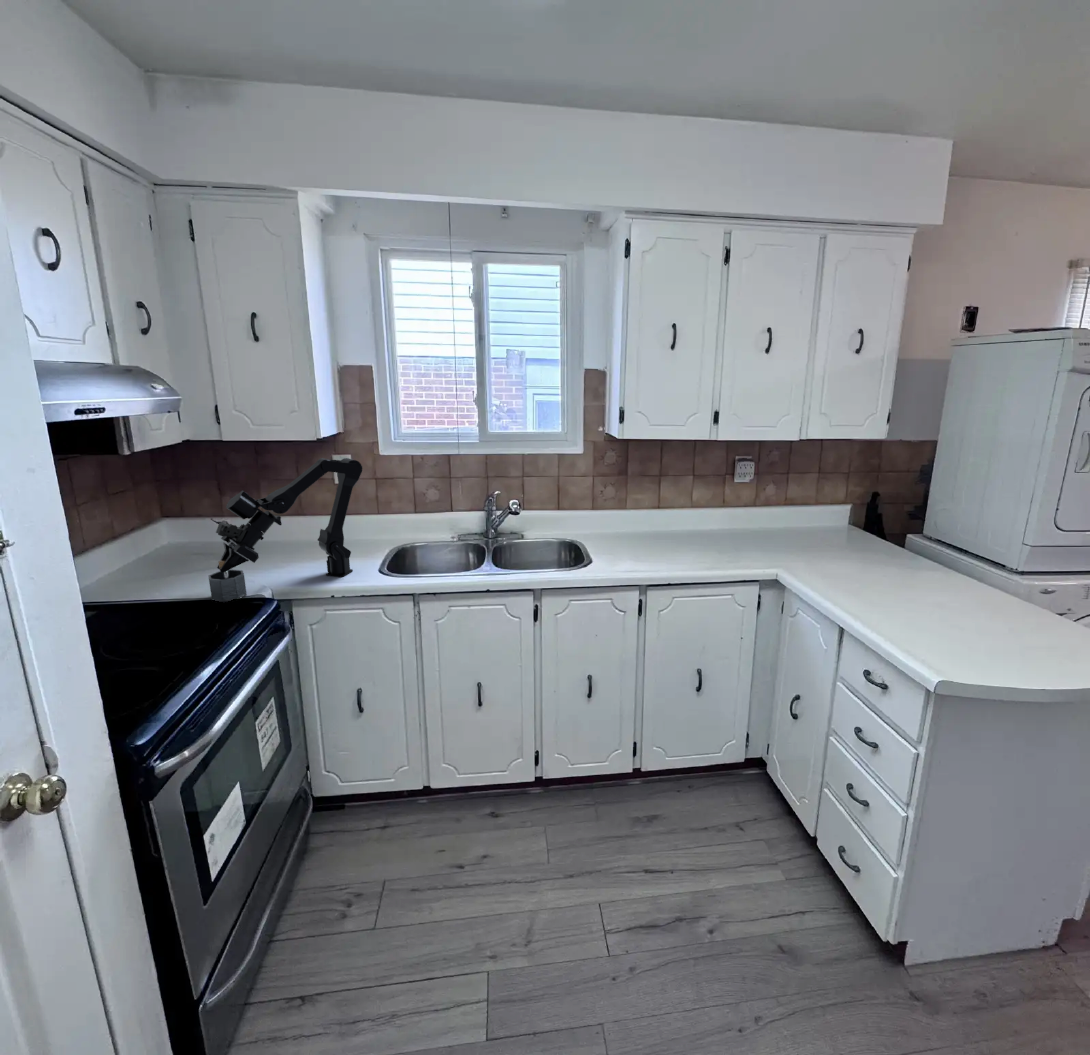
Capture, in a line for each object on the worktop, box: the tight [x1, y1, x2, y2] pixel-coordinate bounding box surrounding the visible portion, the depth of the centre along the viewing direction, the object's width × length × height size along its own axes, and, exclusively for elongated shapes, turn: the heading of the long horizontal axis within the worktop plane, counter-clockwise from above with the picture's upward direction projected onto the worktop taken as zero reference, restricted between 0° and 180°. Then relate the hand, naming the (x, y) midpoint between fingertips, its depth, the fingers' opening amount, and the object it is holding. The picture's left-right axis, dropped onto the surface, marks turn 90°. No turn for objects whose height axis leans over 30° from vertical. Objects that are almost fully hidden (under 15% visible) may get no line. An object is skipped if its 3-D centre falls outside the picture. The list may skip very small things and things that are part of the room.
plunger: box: [217, 559, 229, 579], centre depth 165 cm, size 7×7×10 cm
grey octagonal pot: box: [208, 569, 247, 604], centre depth 166 cm, size 9×9×7 cm
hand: (219, 570), depth 164 cm, fingers closed on plunger, 3 cm apart
